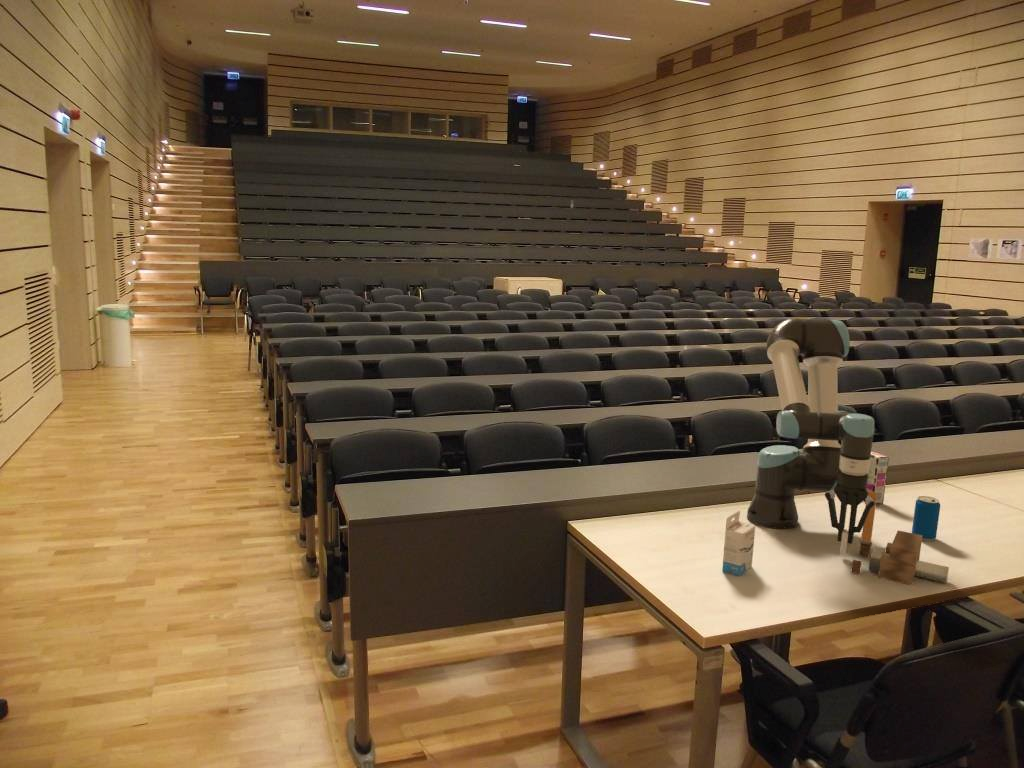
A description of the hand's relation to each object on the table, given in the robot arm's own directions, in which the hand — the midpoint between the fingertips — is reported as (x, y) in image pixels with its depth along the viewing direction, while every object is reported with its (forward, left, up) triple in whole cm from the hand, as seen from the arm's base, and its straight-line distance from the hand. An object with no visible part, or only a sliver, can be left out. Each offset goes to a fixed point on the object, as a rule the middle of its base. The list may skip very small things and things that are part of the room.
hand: (843, 553), depth 214 cm
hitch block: (+11, 0, -2) cm, 11 cm away
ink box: (-22, -24, -2) cm, 33 cm away
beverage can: (+17, +32, -2) cm, 36 cm away
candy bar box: (-3, +60, -2) cm, 60 cm away
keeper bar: (+5, +7, +9) cm, 12 cm away
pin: (+17, 0, -2) cm, 17 cm away
